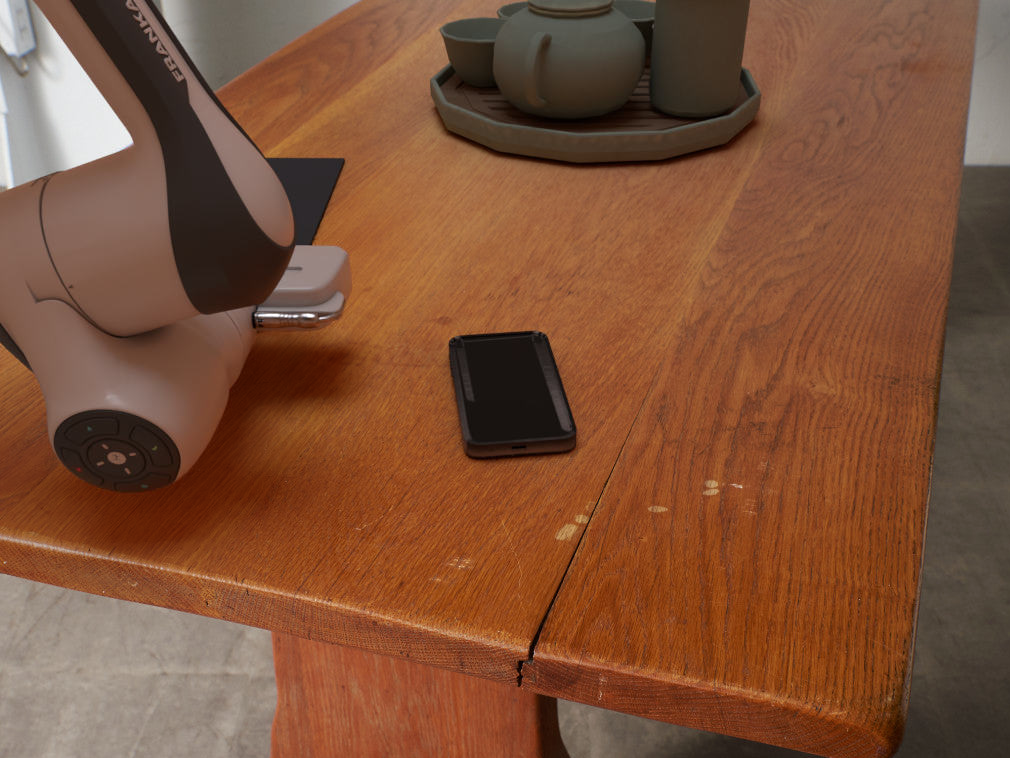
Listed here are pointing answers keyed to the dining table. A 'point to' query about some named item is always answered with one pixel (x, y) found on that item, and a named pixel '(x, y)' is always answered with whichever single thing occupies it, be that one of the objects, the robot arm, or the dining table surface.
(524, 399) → the phone
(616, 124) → the tea set
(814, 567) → the dining table surface
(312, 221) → the mat
